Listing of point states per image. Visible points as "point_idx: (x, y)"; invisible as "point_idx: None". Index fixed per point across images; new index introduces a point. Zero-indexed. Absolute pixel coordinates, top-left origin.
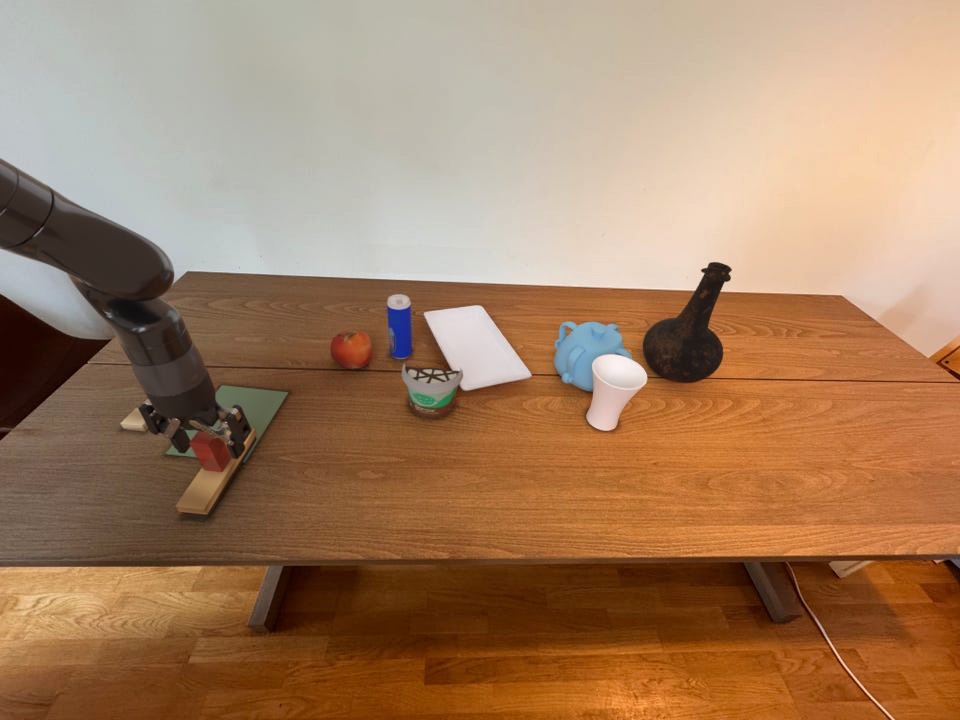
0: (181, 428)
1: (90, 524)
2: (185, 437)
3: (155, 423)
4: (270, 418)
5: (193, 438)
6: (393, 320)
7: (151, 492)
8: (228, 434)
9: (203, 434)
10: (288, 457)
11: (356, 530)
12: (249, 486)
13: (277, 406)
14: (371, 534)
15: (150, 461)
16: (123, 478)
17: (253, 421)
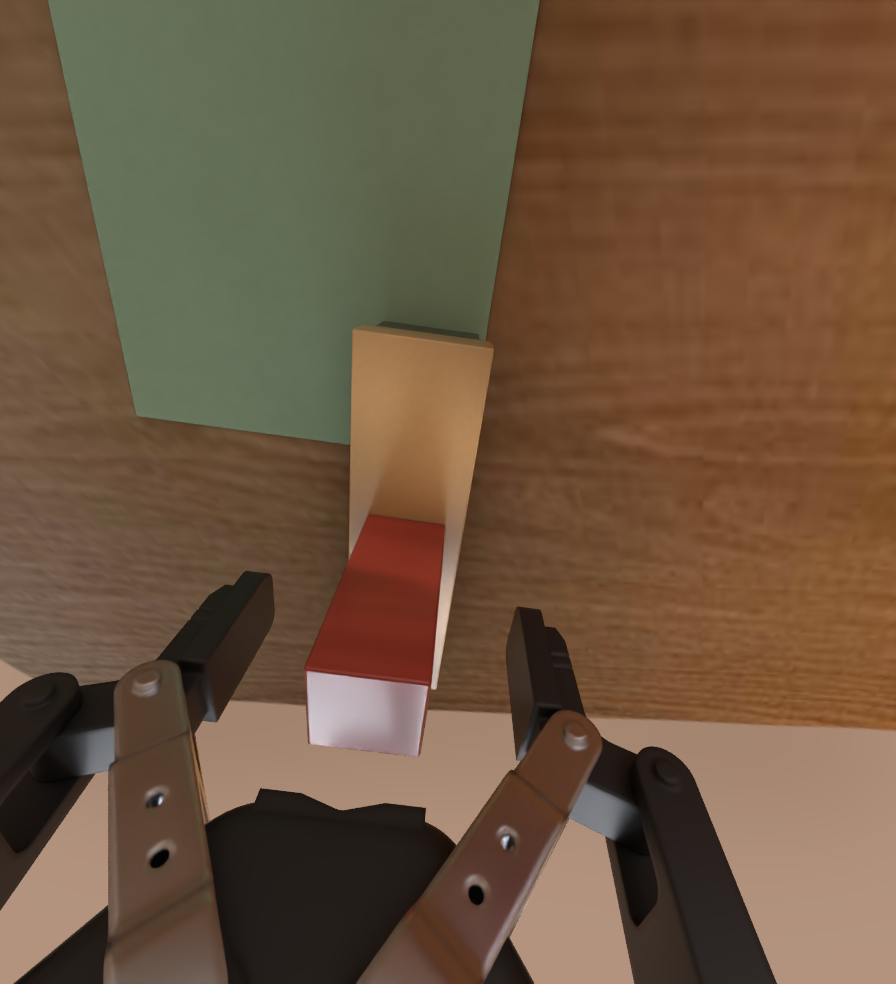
0: (188, 661)
1: (144, 638)
2: (238, 633)
3: (29, 858)
4: (506, 156)
5: (314, 726)
6: None
7: (220, 562)
8: (369, 393)
9: (354, 708)
10: (636, 433)
11: (848, 681)
12: (515, 551)
13: (525, 8)
14: (887, 691)
15: (113, 447)
16: (90, 514)
17: (416, 188)
